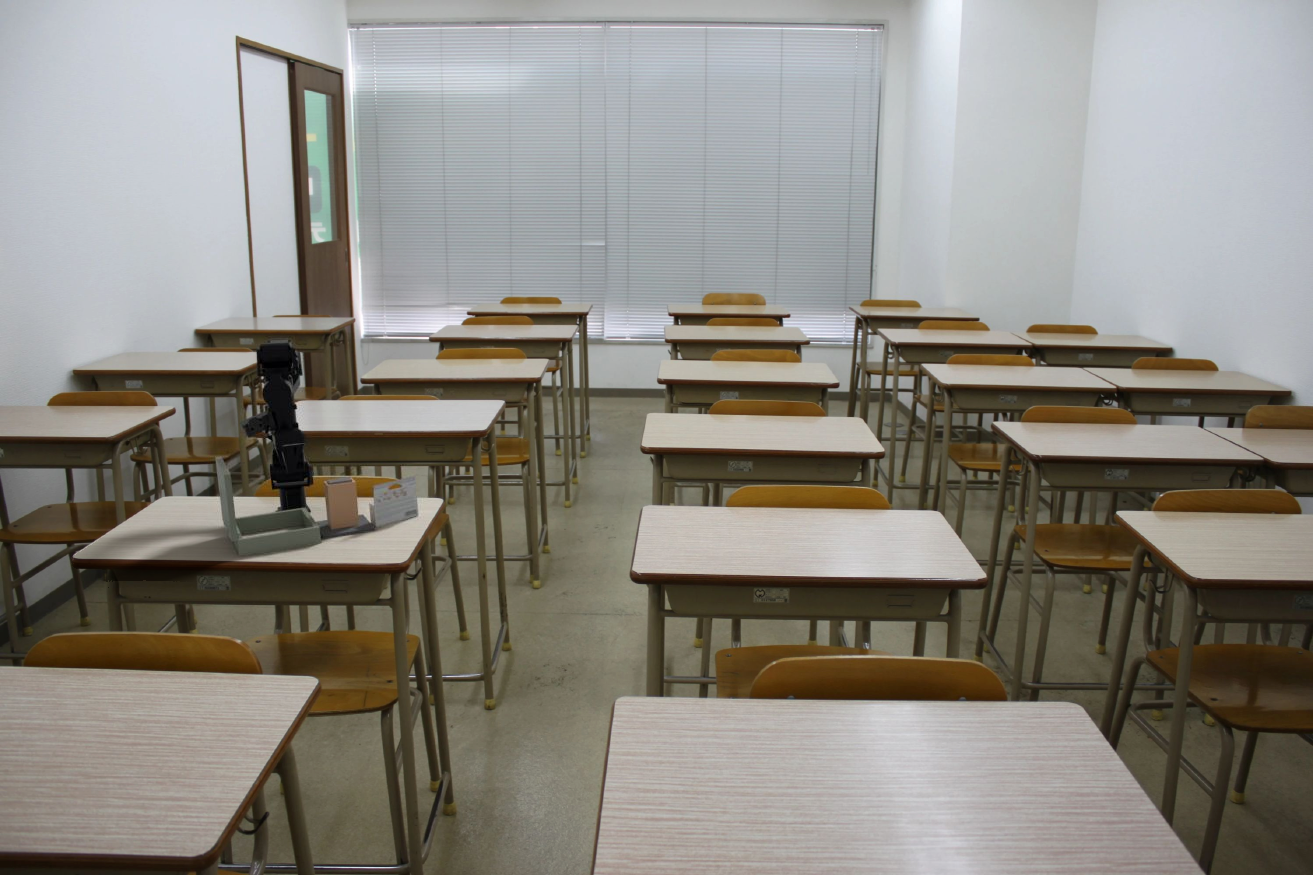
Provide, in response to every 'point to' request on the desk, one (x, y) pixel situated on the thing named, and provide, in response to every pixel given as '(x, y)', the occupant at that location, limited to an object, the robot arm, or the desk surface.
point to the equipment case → (263, 523)
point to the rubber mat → (345, 528)
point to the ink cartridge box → (394, 502)
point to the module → (341, 503)
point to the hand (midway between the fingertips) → (287, 469)
